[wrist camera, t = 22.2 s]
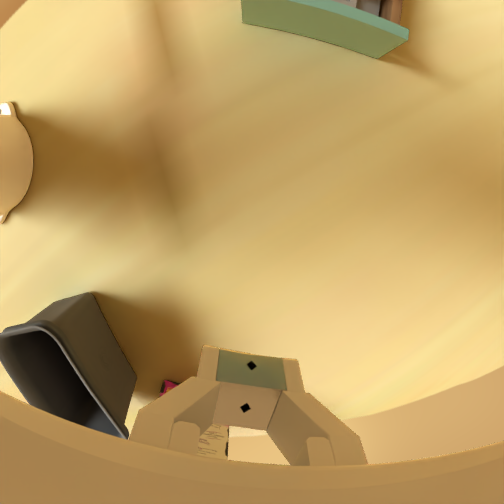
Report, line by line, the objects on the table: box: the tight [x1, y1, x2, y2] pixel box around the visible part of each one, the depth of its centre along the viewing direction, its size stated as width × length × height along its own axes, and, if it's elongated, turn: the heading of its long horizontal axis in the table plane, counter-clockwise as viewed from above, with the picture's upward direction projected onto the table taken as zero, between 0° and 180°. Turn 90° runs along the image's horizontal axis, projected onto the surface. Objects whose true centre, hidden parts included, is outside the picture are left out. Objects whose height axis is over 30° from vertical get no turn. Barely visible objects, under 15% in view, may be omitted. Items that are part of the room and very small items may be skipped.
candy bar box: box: [159, 380, 229, 460], centre depth 41 cm, size 11×5×16 cm, turn 75°
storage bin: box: [0, 293, 137, 440], centre depth 39 cm, size 21×16×14 cm
